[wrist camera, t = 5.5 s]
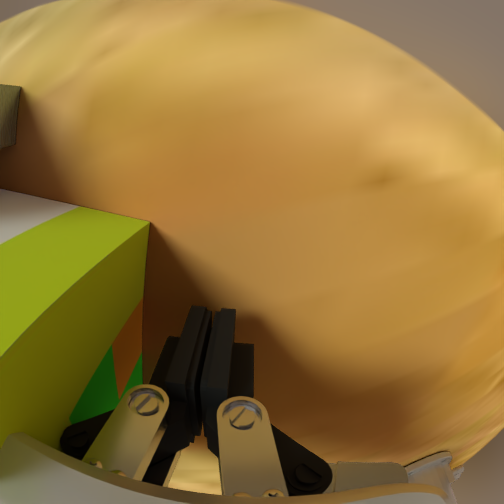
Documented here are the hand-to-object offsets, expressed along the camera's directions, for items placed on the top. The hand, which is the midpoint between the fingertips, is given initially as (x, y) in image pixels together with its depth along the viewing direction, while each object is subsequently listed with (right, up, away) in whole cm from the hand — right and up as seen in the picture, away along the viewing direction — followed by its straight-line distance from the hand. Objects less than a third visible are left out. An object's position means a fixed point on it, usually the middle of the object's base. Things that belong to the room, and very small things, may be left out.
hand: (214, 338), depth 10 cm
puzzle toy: (-8, +1, +1) cm, 9 cm away
